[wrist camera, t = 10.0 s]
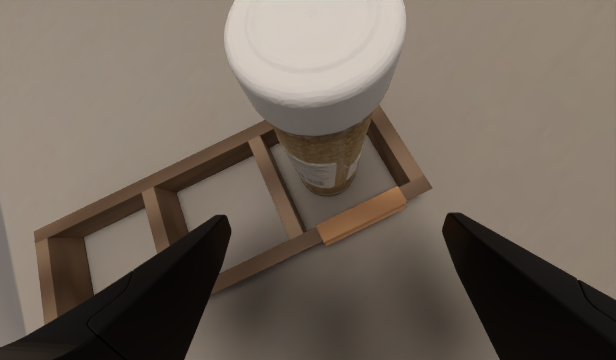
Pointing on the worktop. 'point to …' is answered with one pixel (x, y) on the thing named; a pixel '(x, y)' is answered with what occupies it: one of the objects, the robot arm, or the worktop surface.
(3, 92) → the worktop surface
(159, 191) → the rack
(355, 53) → the sprinkles bottle
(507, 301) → the robot arm
